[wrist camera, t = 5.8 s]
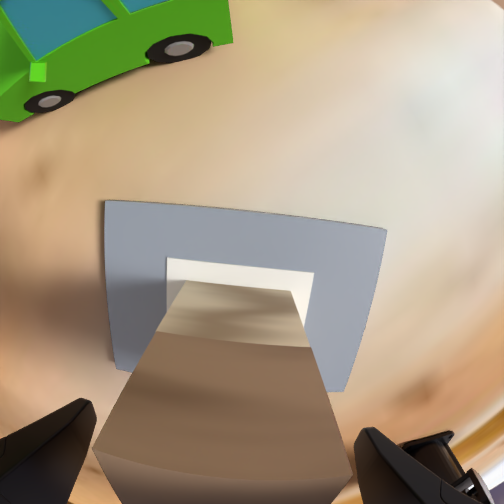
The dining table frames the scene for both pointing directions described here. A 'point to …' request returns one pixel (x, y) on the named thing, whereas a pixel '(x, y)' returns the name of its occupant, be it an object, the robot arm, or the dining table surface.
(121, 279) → the board
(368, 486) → the robot arm
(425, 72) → the dining table surface
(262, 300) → the beech block
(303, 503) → the walnut block
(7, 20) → the toy car
